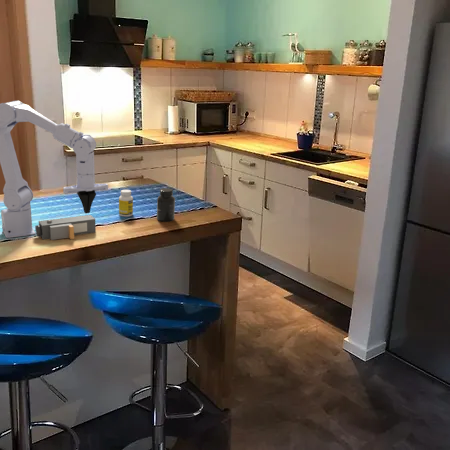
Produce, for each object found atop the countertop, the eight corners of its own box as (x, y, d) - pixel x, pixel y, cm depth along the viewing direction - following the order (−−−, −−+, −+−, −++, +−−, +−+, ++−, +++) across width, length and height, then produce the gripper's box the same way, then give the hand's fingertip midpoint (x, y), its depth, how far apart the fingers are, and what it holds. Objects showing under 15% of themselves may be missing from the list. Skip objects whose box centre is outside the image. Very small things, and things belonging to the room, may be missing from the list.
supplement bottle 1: (129, 217, 194) (129, 193, 190) (116, 216, 195) (116, 191, 191) (135, 213, 199) (134, 189, 195) (122, 212, 200) (121, 188, 196)
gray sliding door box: (38, 240, 166) (37, 224, 164) (35, 235, 170) (34, 219, 169) (95, 232, 176) (95, 217, 174) (91, 227, 180) (90, 213, 179)
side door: (53, 241, 165) (52, 229, 164) (50, 238, 168) (49, 226, 166) (74, 238, 169) (73, 226, 167) (71, 235, 171) (70, 223, 170)
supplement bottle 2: (153, 220, 192) (153, 190, 188) (162, 215, 198) (162, 186, 194) (169, 223, 190) (170, 193, 186) (177, 218, 196) (178, 189, 192)
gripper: (66, 177, 157) (68, 218, 161) (111, 174, 164) (111, 213, 169) (60, 172, 162) (62, 212, 167) (103, 169, 170) (104, 207, 174)
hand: (86, 212), depth 168 cm, fingers closed
